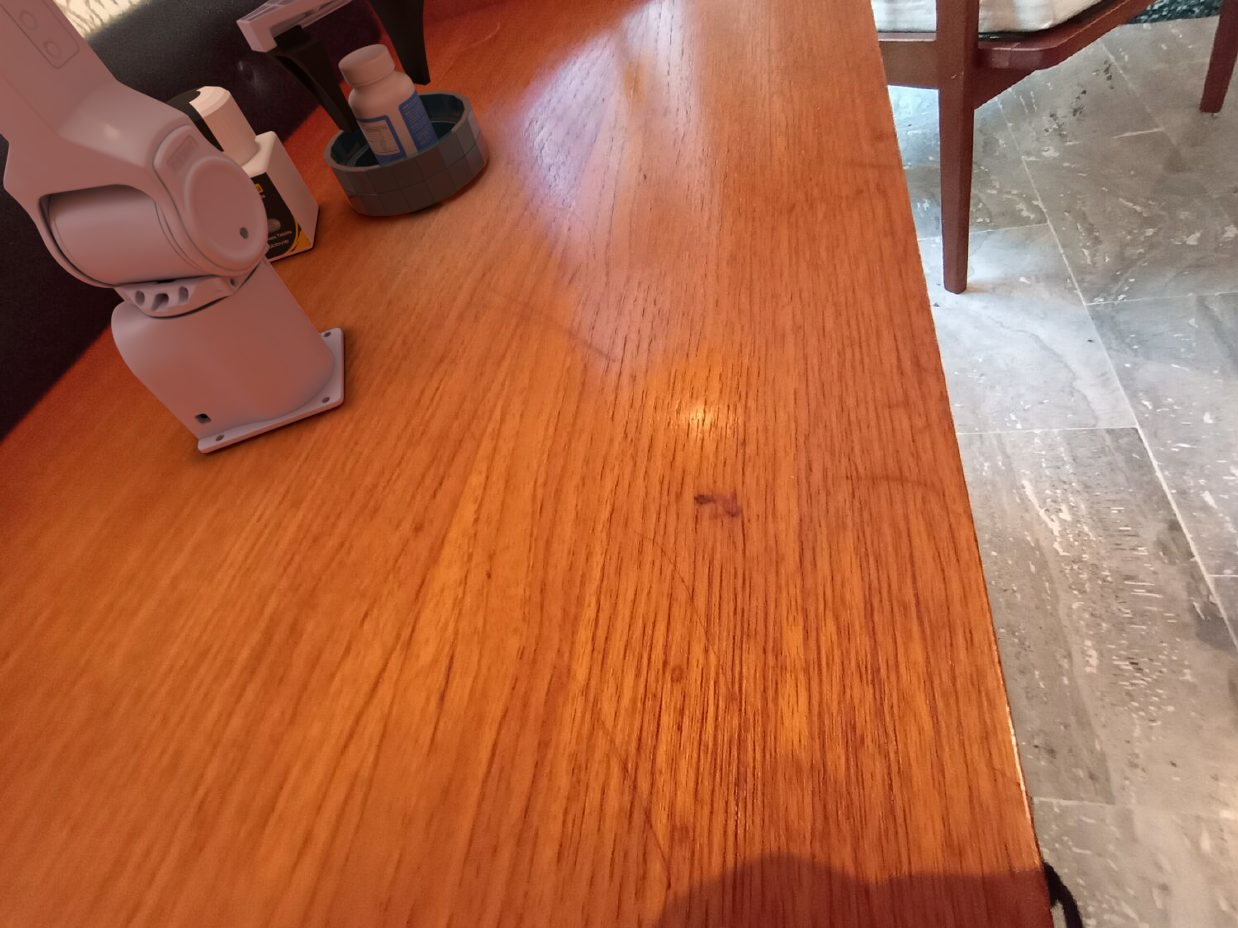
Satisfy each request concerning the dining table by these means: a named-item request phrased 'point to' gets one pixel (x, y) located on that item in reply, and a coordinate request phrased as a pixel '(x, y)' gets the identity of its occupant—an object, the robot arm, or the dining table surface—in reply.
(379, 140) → the pill bottle
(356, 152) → the bowl
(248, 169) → the medicine bottle
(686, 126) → the dining table surface
